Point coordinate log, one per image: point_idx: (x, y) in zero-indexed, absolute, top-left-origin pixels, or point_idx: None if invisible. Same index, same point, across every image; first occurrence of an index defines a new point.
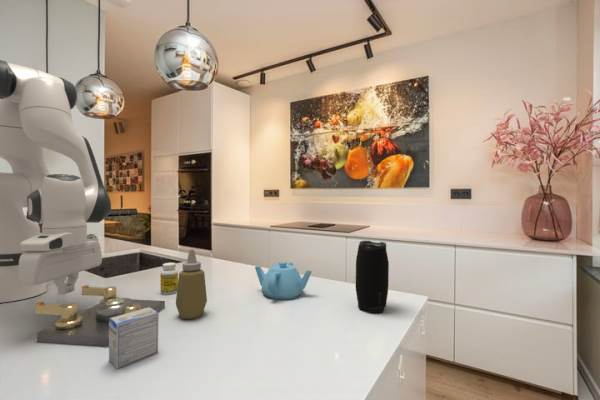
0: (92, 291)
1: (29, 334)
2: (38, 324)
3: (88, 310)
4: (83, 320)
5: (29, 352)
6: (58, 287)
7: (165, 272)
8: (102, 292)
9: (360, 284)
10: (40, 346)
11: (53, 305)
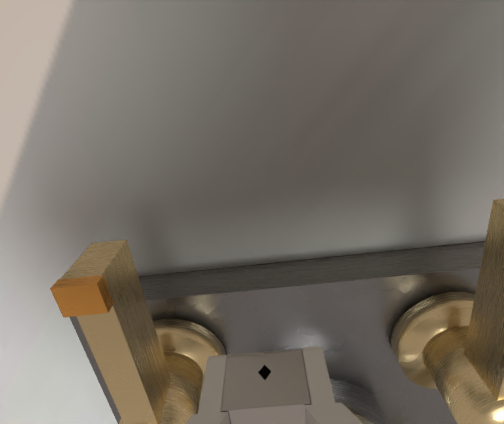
0: (497, 307)
1: (112, 182)
2: (208, 98)
3: (345, 300)
4: None
5: (33, 326)
6: (195, 421)
7: None
8: (481, 367)
9: None
10: None
11: (117, 381)
